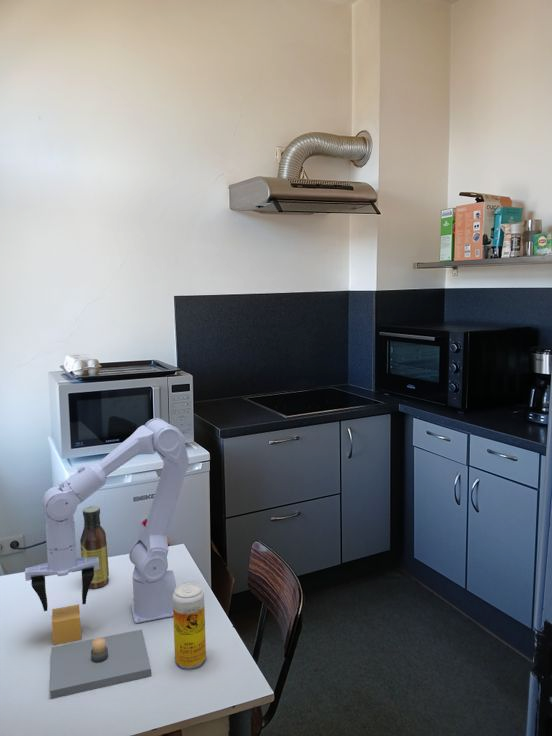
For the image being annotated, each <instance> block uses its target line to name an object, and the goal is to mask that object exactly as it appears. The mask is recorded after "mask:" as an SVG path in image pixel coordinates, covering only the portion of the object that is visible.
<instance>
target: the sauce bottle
mask: <svg viewBox="0 0 552 736" xmlns="http://www.w3.org/2000/svg"><path fill="white" fill-rule="evenodd" d="M82 516H83V523H84V524H83V530H82V534H81V536H80V539H79V540H80V541H79V543H80V545H79V546H80V555H81V557H80V558H95V557H98V559H99V569H98V570H94V577H93V580H92V582H91V584H90V587H89V589H98V588H102V587H104V586H105V585H107V584H108V583H109V575H110V572H109V571H110V570H109V558H108V557H109V554H108V553H109V552H108V542H107V533H106V532H105V529H104V528H103V527H102V525H101V517H100V516H101V508H100V507H99V506H98V505H89V506H87V507H84V508H83V509H82Z"/></svg>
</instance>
